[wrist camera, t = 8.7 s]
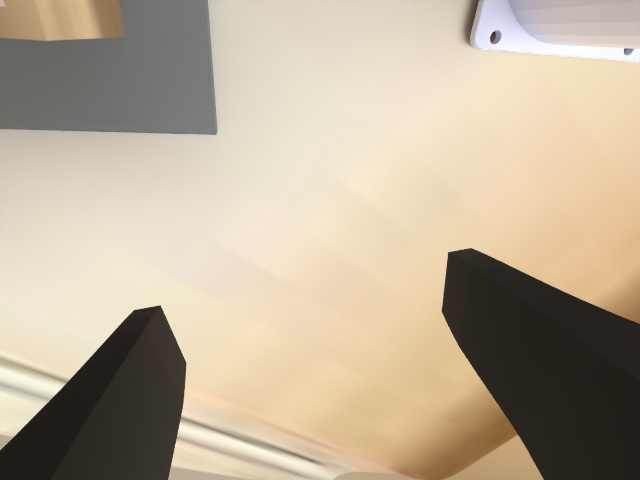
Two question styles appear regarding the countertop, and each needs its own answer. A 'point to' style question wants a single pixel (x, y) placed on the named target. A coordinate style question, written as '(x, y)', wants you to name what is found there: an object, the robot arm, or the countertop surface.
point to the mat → (116, 76)
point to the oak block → (60, 19)
